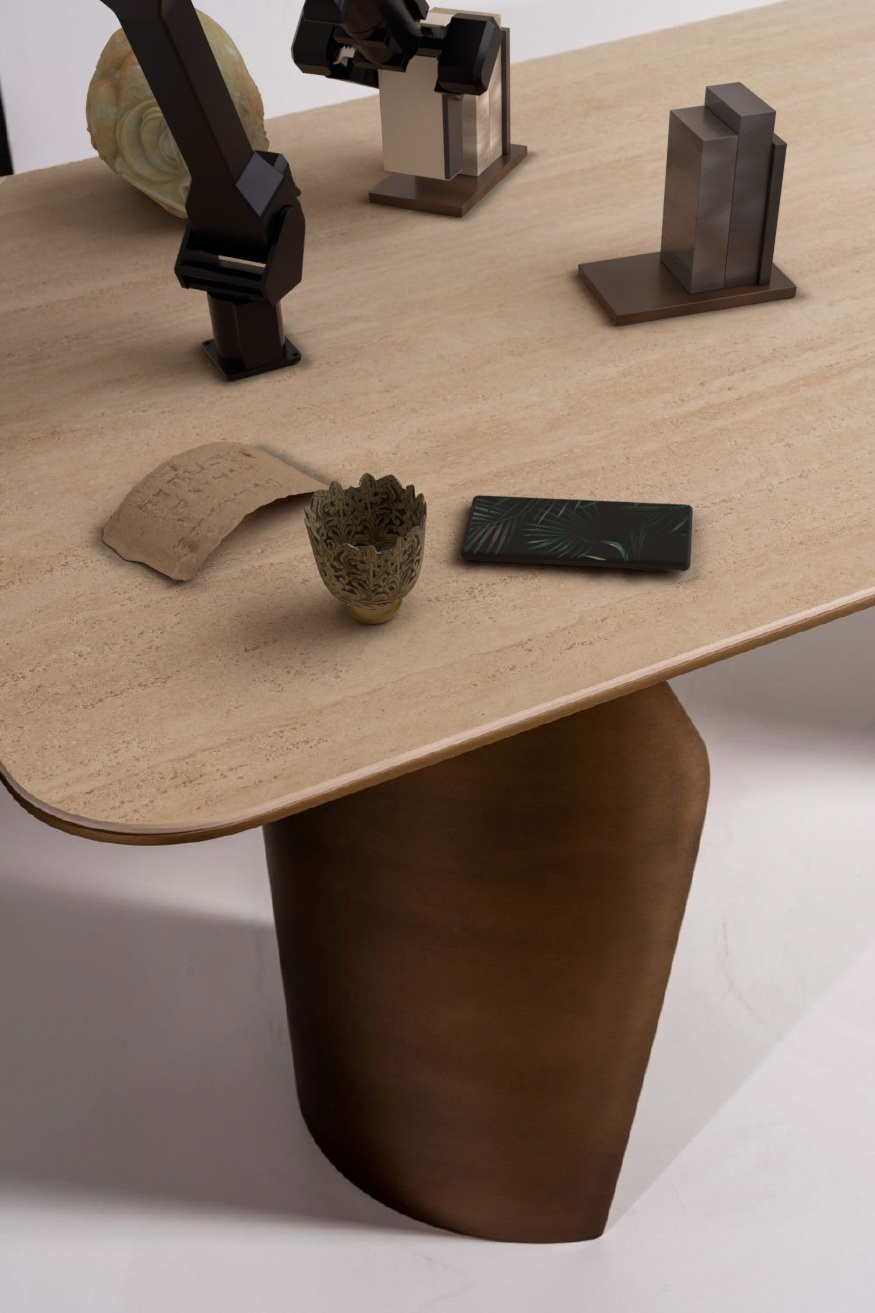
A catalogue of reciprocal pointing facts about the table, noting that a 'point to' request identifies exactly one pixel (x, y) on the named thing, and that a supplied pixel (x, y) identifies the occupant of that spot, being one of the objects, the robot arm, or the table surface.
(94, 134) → the sculpture
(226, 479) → the clay tablet
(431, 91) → the white book
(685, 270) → the grey book shelf
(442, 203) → the white book shelf
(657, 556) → the smartphone
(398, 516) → the cup
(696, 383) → the table surface
